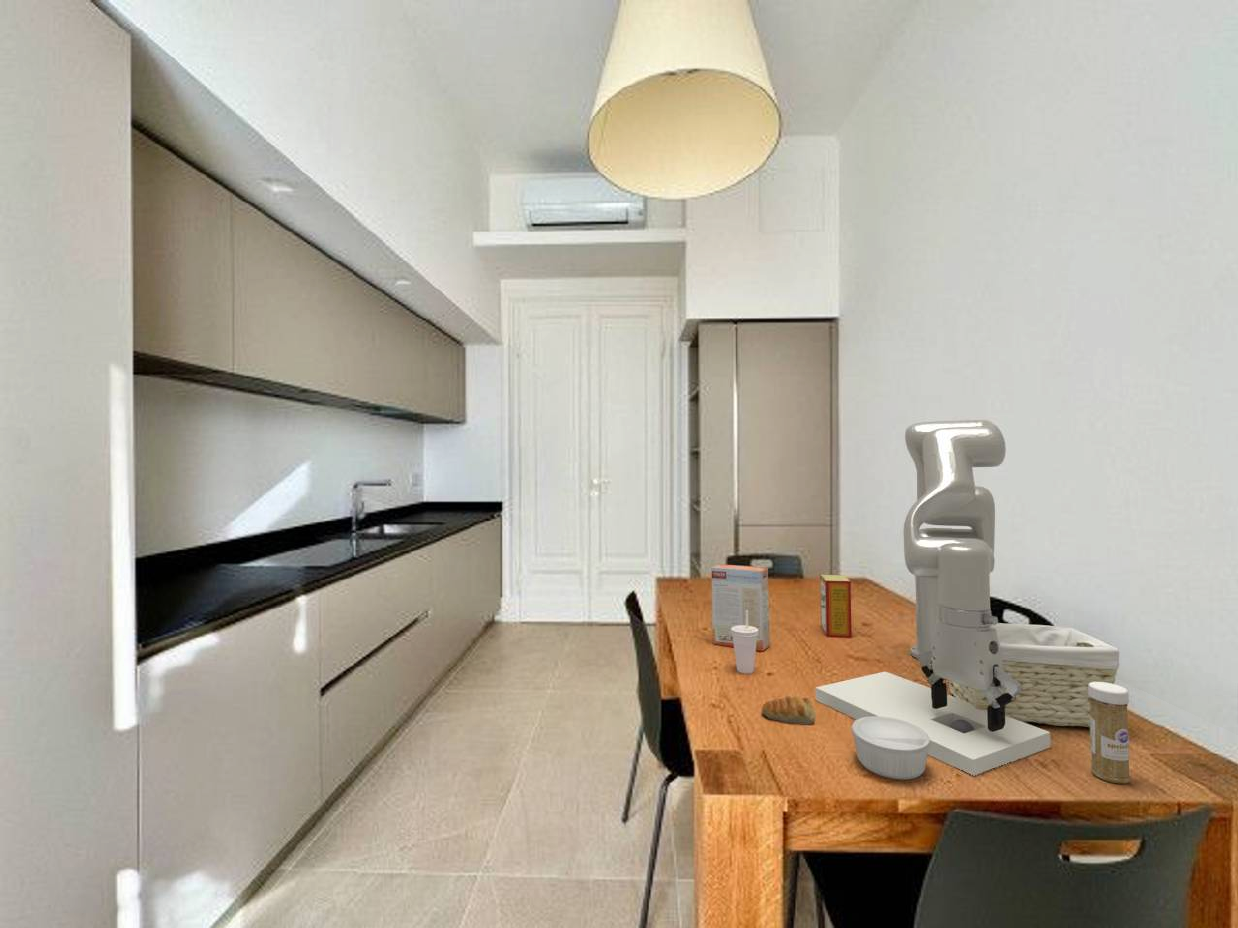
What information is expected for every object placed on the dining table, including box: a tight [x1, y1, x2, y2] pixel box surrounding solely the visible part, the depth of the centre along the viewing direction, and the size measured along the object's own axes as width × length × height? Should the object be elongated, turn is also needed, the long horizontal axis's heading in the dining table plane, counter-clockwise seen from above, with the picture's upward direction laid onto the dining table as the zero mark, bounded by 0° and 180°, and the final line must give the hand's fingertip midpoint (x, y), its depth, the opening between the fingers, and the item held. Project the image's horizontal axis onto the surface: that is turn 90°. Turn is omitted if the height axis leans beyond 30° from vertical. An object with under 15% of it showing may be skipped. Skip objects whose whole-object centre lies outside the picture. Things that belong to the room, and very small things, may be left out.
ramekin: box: [851, 716, 930, 780], centre depth 88 cm, size 11×11×5 cm
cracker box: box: [711, 564, 771, 652], centre depth 150 cm, size 14×6×21 cm, turn 58°
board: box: [814, 671, 1052, 777], centre depth 103 cm, size 32×20×2 cm, turn 25°
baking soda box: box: [819, 574, 852, 639], centre depth 160 cm, size 10×6×16 cm
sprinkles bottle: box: [1088, 682, 1131, 784], centre depth 84 cm, size 5×5×13 cm
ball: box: [951, 719, 974, 733], centre depth 96 cm, size 4×4×4 cm
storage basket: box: [948, 622, 1120, 728], centre depth 107 cm, size 24×16×15 cm
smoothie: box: [731, 610, 759, 674], centre depth 131 cm, size 6×6×14 cm
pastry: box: [761, 695, 816, 725], centre depth 106 cm, size 9×7×4 cm
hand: (966, 717), depth 96 cm, fingers open, 9 cm apart
